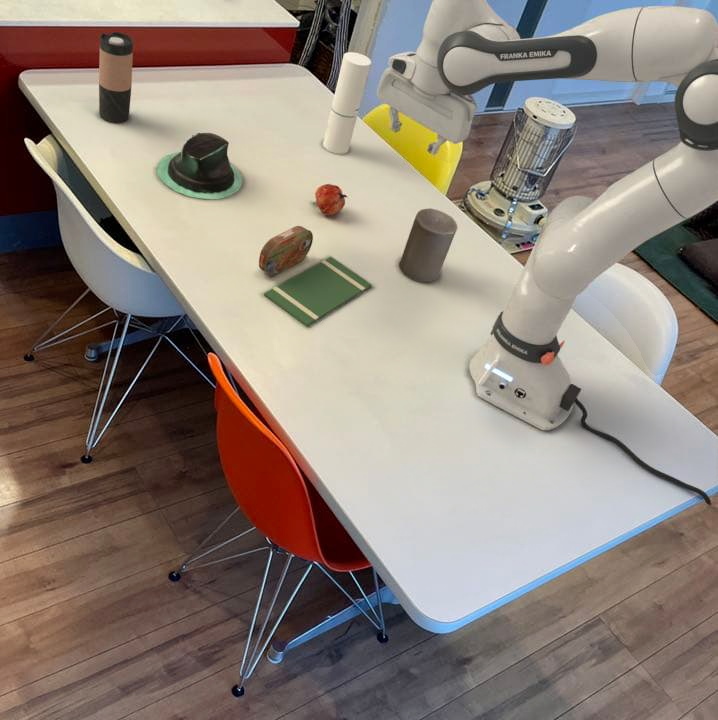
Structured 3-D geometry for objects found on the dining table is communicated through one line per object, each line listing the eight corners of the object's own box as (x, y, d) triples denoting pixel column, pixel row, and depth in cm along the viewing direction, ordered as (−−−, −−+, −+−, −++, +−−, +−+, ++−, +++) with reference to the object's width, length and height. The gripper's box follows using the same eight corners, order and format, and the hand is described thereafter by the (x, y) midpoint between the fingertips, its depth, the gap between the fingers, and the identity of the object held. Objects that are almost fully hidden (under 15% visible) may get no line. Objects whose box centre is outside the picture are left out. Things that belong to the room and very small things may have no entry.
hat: (227, 207, 178) (143, 183, 178) (242, 205, 197) (165, 183, 196) (242, 141, 175) (156, 117, 175) (256, 145, 193) (178, 123, 193)
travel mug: (126, 126, 195) (129, 48, 181) (94, 119, 193) (95, 40, 180) (133, 112, 200) (136, 36, 187) (102, 105, 199) (104, 28, 186)
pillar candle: (390, 264, 179) (408, 210, 169) (416, 252, 186) (435, 199, 176) (421, 288, 176) (442, 233, 166) (447, 274, 182) (468, 221, 172)
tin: (264, 281, 164) (270, 249, 158) (253, 274, 165) (259, 241, 159) (310, 257, 174) (317, 226, 168) (299, 250, 175) (306, 219, 169)
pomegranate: (306, 220, 188) (338, 215, 182) (300, 189, 186) (331, 183, 180) (326, 214, 194) (357, 209, 187) (319, 184, 192) (350, 178, 185)
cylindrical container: (353, 148, 215) (376, 61, 198) (339, 156, 210) (361, 67, 193) (332, 137, 217) (353, 50, 200) (318, 144, 212) (338, 55, 195)
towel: (371, 286, 172) (372, 284, 171) (306, 326, 157) (307, 324, 156) (330, 258, 175) (330, 256, 175) (263, 295, 161) (264, 292, 160)
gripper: (488, 96, 143) (463, 162, 152) (401, 48, 149) (382, 114, 159) (471, 103, 138) (446, 171, 148) (382, 53, 145) (364, 121, 154)
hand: (413, 141), depth 153 cm, fingers open, 8 cm apart
